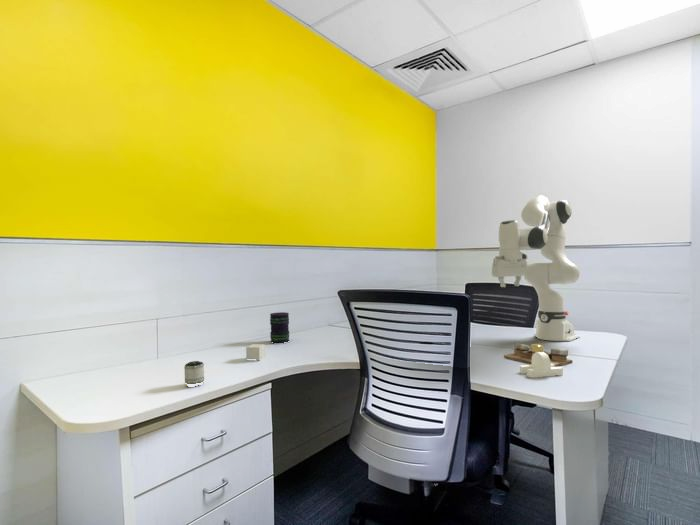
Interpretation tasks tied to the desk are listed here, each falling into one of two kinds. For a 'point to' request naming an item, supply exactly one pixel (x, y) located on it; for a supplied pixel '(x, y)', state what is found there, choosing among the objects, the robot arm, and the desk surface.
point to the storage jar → (279, 327)
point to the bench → (530, 355)
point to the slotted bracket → (540, 366)
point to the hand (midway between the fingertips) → (510, 286)
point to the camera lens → (194, 372)
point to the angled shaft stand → (559, 354)
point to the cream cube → (255, 351)
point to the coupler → (536, 348)
